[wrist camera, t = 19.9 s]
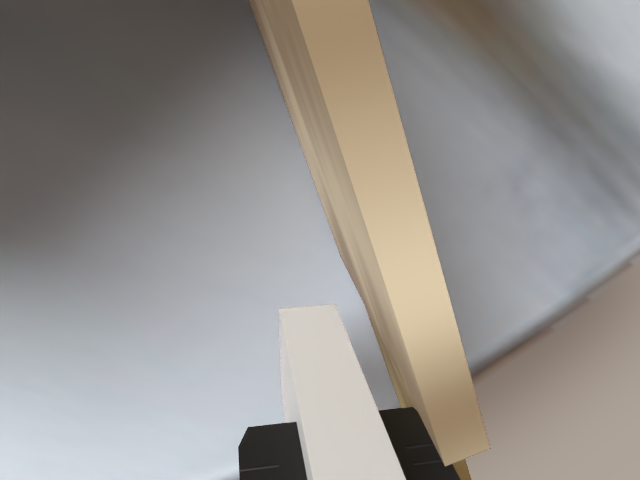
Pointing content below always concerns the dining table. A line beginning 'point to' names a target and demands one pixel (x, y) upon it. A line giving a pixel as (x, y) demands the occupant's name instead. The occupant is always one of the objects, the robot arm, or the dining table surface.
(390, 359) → the door
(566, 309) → the dining table surface
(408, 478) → the robot arm
